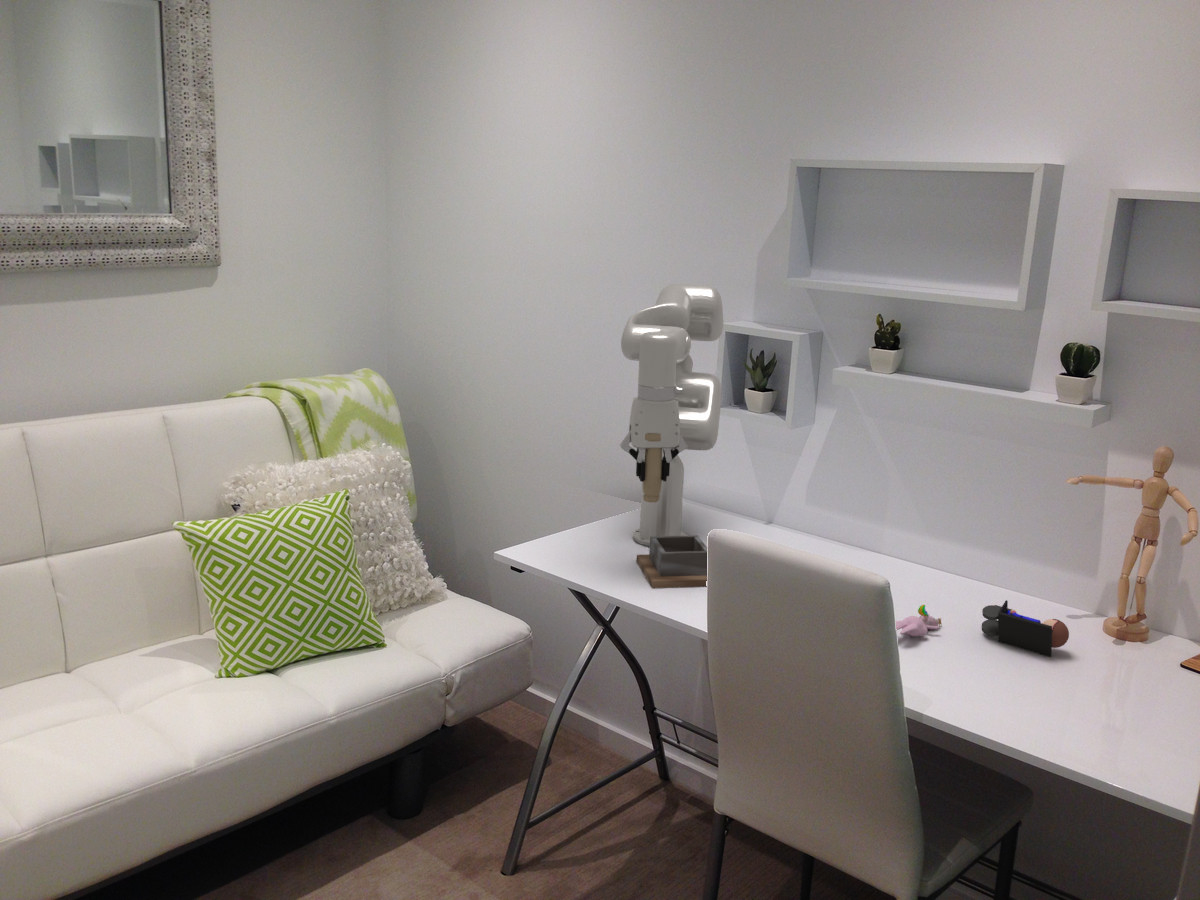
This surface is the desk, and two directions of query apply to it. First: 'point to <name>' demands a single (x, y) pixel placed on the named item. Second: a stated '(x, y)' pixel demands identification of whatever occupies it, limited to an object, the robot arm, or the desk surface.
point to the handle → (652, 470)
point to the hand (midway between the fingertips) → (652, 478)
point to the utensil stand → (675, 562)
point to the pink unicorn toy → (918, 623)
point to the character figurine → (1024, 630)
